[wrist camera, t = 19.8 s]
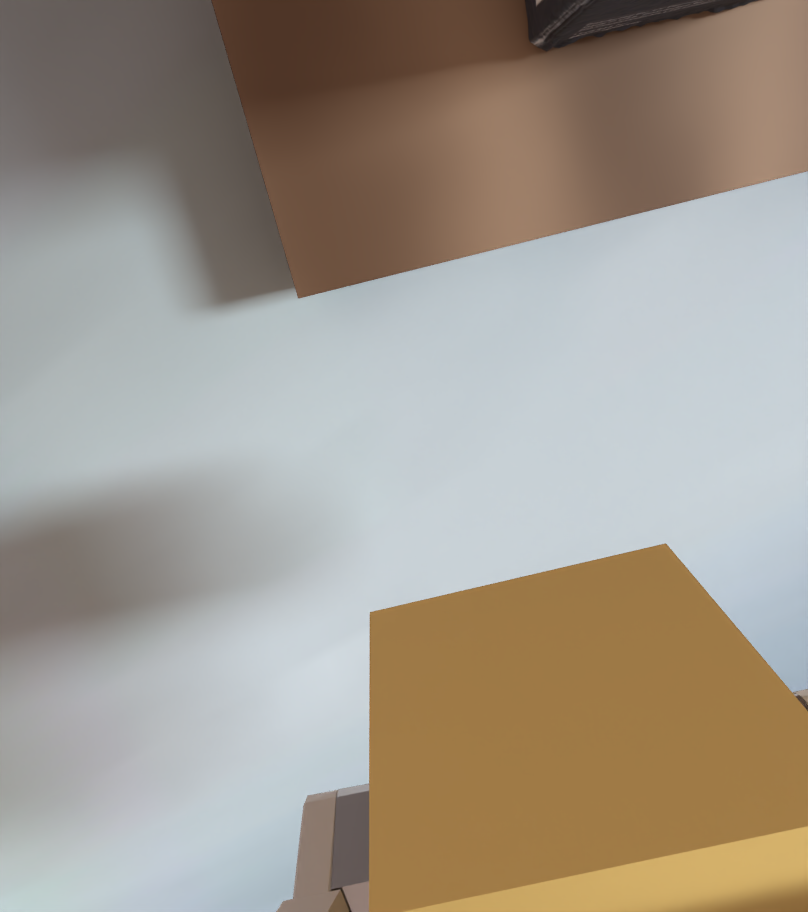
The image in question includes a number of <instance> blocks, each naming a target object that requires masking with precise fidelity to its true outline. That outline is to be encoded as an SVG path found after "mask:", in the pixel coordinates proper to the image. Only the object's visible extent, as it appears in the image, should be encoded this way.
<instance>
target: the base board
mask: <svg viewBox="0 0 808 912" xmlns="http://www.w3.org/2000/svg"><path fill="white" fill-rule="evenodd" d="M212 4H213V7H214V11H215V14H216V17H217V21H218V24H219V28H220V31H221V35H222V38H223V42H224V45H225V48H226V52H227V55H228V59H229V62H230V66H231V69H232V72H233V76H234V79H235V83H236V86H237V90H238V93H239V97H240V100H241V103H242V107H243V110H244V114H245V117H246V121H247V124H248V127H249V131H250V134H251V138H252V141H253V145H254V148H255V151H256V155H257V158H258V162H259V165H260V169H261V172H262V176H263V179H264V182H265V186H266V189H267V193H268V196H269V200H270V203H271V206H272V210H273V213H274V217H275V220H276V224H277V227H278V230H279V234H280V237H281V241H282V244H283V248H284V251H285V255H286V258H287V261H288V265H289V268H290V272H291V275H292V279H293V282H294V285H295V289H296V292H297V296H298V298H302V297H306V296H310V295H314V294H318V293H322V292H326V291H330V290H334V289H338V288H342V287H346V286H350V285H354V284H358V283H362V282H366V281H370V280H374V279H378V278H382V277H386V276H390V275H394V274H398V273H402V272H406V271H410V270H414V269H418V268H422V267H426V266H430V265H434V264H438V263H442V262H446V261H450V260H454V259H458V258H462V257H466V256H470V255H474V254H478V253H482V252H486V251H490V250H494V249H498V248H502V247H506V246H510V245H514V244H518V243H522V242H526V241H530V240H534V239H538V238H542V237H546V236H550V235H554V234H558V233H562V232H566V231H570V230H574V229H578V228H582V227H586V226H590V225H594V224H598V223H602V222H606V221H610V220H614V219H618V218H622V217H626V216H630V215H634V214H638V213H642V212H646V211H650V210H654V209H658V208H662V207H666V206H670V205H674V204H678V203H682V202H686V201H690V200H694V199H698V198H702V197H706V196H710V195H714V194H718V193H722V192H726V191H730V190H734V189H738V188H742V187H746V186H750V185H754V184H758V183H762V182H766V181H770V180H774V179H778V178H782V177H786V176H790V175H794V174H798V173H802V172H806V171H808V0H758V1H754V2H750V3H748V4H746V5H744V6H737V7H735V8H733V9H729V10H723V11H721V12H718V13H712V12H709V11H703V12H701V13H698V14H691V15H687V16H683V17H681V18H679V19H677V20H675V19H667V20H662V21H659V22H651V23H648V24H645V25H643V26H641V27H639V26H632V27H630V28H628V29H626V30H624V31H612V32H608V33H606V34H605V35H604V36H603V37H599V38H598V37H595V36H588V37H584V38H581V39H578V40H577V41H575V42H574V43H572V44H569V45H566V46H564V47H561V48H554V47H553V48H551V49H550V50H549V51H547V52H546V51H544V50H542V49H541V48H538V47H537V46H535V45H534V44H532V43H531V42H530V41H529V38H528V20H527V12H526V5H525V0H212Z"/></svg>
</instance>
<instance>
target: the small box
mask: <svg viewBox="0 0 808 912" xmlns="http://www.w3.org/2000/svg"><path fill="white" fill-rule="evenodd" d="M754 1H758V0H525V5H526V12H527V20H528V38H529V41H530V42H531V43H532V44H534V45H535V46H537V47H538V48H541V49H542V50H544V51H546V52H547V51H549V50H550V49H551V48H553V47H554V48H561V47H564V46H566V45H569V44H572V43H574V42H575V41H577V40H578V39H581V38H584V37H588V36H595V37H598V38H599V37H603V36H604V35H605V34H606V33H608V32H612V31H624V30H626V29H628V28H630V27H632V26H639V27H641V26H643V25H645V24H648V23H651V22H659V21H662V20H667V19H675V20H677V19H679V18H681V17H683V16H687V15H691V14H698V13H701V12H703V11H709V12H712V13H718V12H721V11H723V10H729V9H733V8H735V7H737V6H744V5H746V4H748V3H750V2H754Z"/></svg>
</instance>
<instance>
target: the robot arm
mask: <svg viewBox="0 0 808 912" xmlns="http://www.w3.org/2000/svg"><path fill="white" fill-rule="evenodd" d="M793 694H794V695H795V697H796V698H797V699H798V700H799V701H800V703H801V704H802V705H803V706H804V707H805V708H806V710H807V711H808V689H805V690H801V691H796V692H793ZM276 912H369V784H364V785H358V786H353V787H348V788H342V789H339V790H334V791H329V792H324V793H318V794H313V795H308V796H307V798H306V801H305V803H304V806H303V814H302V823H301V832H300V841H299V849H298V858H297V867H296V876H295V885H294V893H293V899H290V900H286V901H283V902H282V904H281V905H280V907H279V908H278V910H277V911H276Z"/></svg>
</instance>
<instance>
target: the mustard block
mask: <svg viewBox="0 0 808 912" xmlns="http://www.w3.org/2000/svg"><path fill="white" fill-rule="evenodd" d="M369 912H808V711H807V710H806V708H805V707H804V706H803V705H802V704H801V703H800V701H799V700H798V699H797V698H796V697H795V695H794V694H793V693H792V692H791V691H790V690H789V688H788V687H787V686H786V685H785V684H784V682H783V681H782V680H781V679H780V678H779V677H778V675H777V674H776V673H775V672H774V671H773V669H772V668H771V667H770V666H769V665H768V664H767V662H766V661H765V660H764V659H763V658H762V656H761V655H760V654H759V653H758V652H757V651H756V649H755V648H754V647H753V646H752V645H751V643H750V642H749V641H748V640H747V639H746V638H745V636H744V635H743V634H742V633H741V632H740V630H739V629H738V628H737V627H736V626H735V625H734V623H733V622H732V621H731V620H730V619H729V617H728V616H727V615H726V614H725V613H724V612H723V610H722V609H721V608H720V607H719V606H718V604H717V603H716V602H715V601H714V600H713V599H712V597H711V596H710V595H709V594H708V593H707V591H706V590H705V589H704V588H703V587H702V585H701V584H700V583H699V582H698V581H697V580H696V578H695V577H694V576H693V575H692V574H691V572H690V571H689V570H688V569H687V568H686V567H685V565H684V564H683V563H682V562H681V561H680V559H679V558H678V557H677V556H676V555H675V554H674V552H673V551H672V550H671V549H670V548H669V546H668V545H667V544H662V545H657V546H653V547H649V548H644V549H640V550H636V551H632V552H627V553H623V554H619V555H614V556H610V557H606V558H601V559H597V560H593V561H589V562H584V563H580V564H576V565H571V566H567V567H563V568H558V569H554V570H550V571H546V572H541V573H537V574H533V575H528V576H524V577H520V578H515V579H511V580H507V581H503V582H498V583H494V584H490V585H485V586H481V587H477V588H472V589H468V590H464V591H460V592H455V593H451V594H447V595H442V596H438V597H434V598H429V599H425V600H421V601H417V602H412V603H408V604H404V605H399V606H395V607H391V608H386V609H382V610H378V611H374V612H370V728H369Z"/></svg>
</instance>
